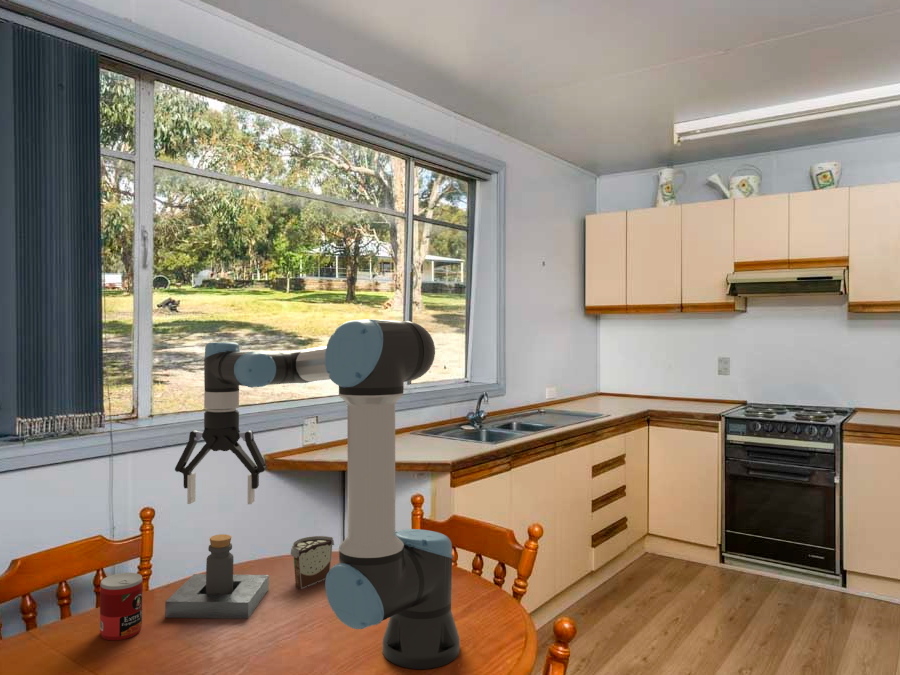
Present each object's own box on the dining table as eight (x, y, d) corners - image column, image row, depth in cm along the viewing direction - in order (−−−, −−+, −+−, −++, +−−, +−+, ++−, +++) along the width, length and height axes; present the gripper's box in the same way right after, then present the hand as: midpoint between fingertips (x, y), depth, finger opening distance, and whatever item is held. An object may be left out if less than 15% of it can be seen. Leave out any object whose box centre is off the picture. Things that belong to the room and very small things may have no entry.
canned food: (125, 643, 129) (125, 588, 129) (90, 638, 131) (90, 584, 131) (150, 626, 137) (151, 574, 137) (117, 622, 138) (117, 570, 138)
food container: (317, 570, 170) (317, 532, 170) (333, 576, 166) (334, 537, 166) (279, 585, 160) (279, 544, 160) (296, 591, 156) (296, 549, 156)
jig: (248, 618, 141) (248, 602, 141) (165, 617, 141) (165, 601, 141) (268, 589, 157) (268, 574, 157) (193, 588, 157) (194, 574, 157)
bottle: (225, 595, 153) (226, 531, 153) (237, 603, 149) (238, 537, 149) (201, 602, 149) (202, 536, 149) (212, 610, 145) (213, 543, 145)
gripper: (280, 408, 152) (280, 498, 152) (173, 407, 152) (173, 498, 152) (272, 412, 145) (271, 507, 145) (159, 411, 145) (159, 506, 145)
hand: (221, 502), depth 149 cm, fingers open, 13 cm apart
